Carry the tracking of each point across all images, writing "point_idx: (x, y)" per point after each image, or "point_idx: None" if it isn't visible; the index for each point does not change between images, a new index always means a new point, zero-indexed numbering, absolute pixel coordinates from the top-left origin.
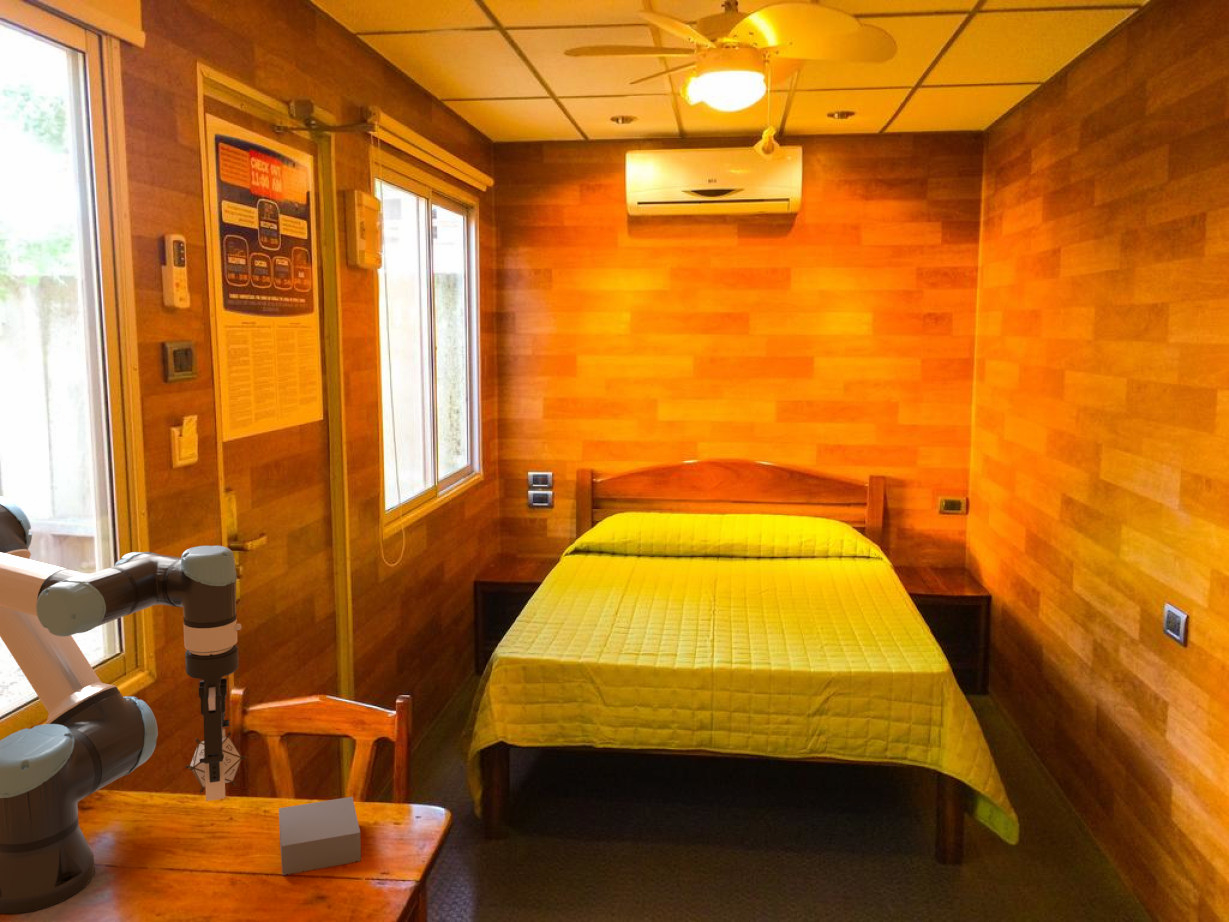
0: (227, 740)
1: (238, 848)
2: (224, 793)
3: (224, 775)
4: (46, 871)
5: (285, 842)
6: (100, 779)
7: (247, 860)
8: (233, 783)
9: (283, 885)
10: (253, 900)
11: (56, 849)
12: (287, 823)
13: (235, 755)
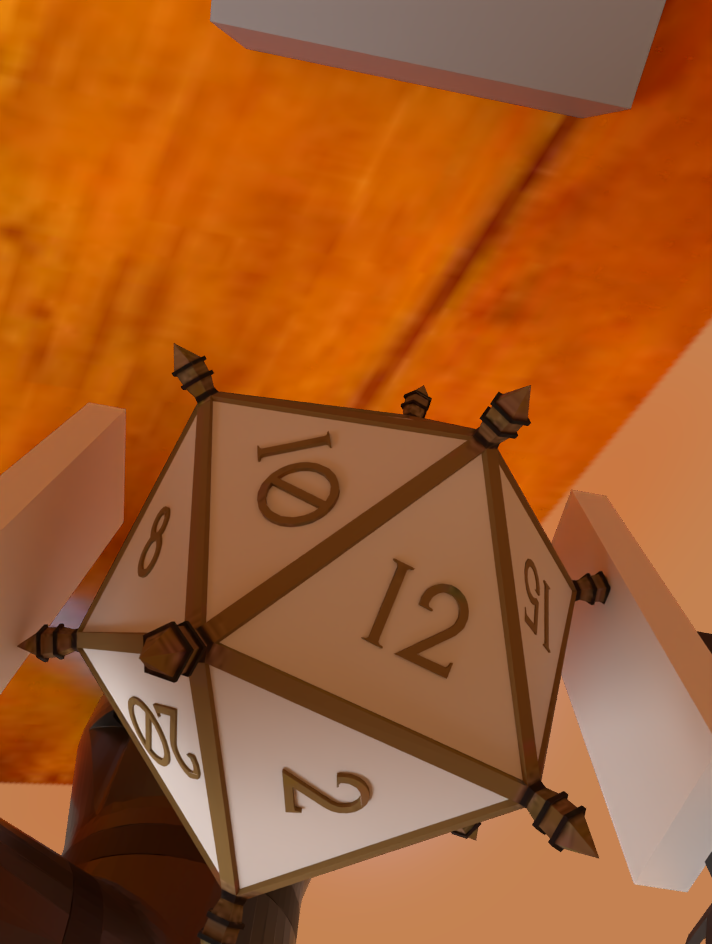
0: (299, 659)
1: (272, 251)
2: (619, 518)
3: (658, 598)
4: None
5: (608, 77)
6: (69, 924)
7: (382, 235)
8: (424, 411)
9: (655, 132)
10: (672, 270)
11: None
12: (412, 12)
13: (505, 528)
